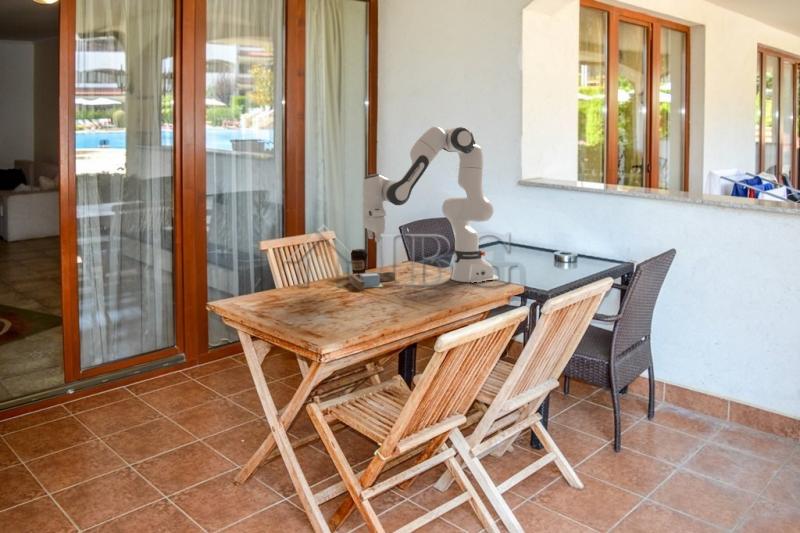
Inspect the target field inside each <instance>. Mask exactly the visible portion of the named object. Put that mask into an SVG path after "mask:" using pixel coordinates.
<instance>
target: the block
mask: <svg viewBox="0 0 800 533" xmlns="http://www.w3.org/2000/svg"><path fill="white" fill-rule="evenodd" d="M373 273H374V274H360V279H361V280H363V281H364V287H372V286H380V284H381V281H380V275H379V274H377V273H375V272H373ZM372 288H373V287H372Z"/></svg>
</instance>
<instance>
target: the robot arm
mask: <svg viewBox="0 0 800 533" xmlns="http://www.w3.org/2000/svg"><path fill="white" fill-rule="evenodd" d="M442 150H444V151H446V152H449V153H457V154H458V157H459V165H458V166H459V167H458V176H457V183H458V185H459V187H460V188H461V189H463V190H464V191H465V194H466V197H465V196H464V197H462V196H452V197H448V198H446V199H445V200H444V202H443V203H442V206H441V207H442V208H441V210H442V213H443V215H444V217H445V218H446V219H447V220H448V221H449V223H450V224H451V226H452V229H453V231H454V232H453V233H454V246H455V247H454V250H453V260H454V262H453V270H452V274H451V277H450V279H451V280H452V281H456V282H462V283H470V282H471V284H472V283H473V284H475V283H474V282H477V283H483V282H482V281H485V282H487V281H486V280H493V281H498V280H499V276H498V275H497V274H494V273H495V272H494V268H493V265H492V264H490V263H489V262H488V261H487V260H485V259H484V258H483V257H485V256H486V251H484V250H482V251H481V250H479V242H480V239H479V238H480V236H479V233H478V231H476V230H475V229H474V228H473V227H472V226H471V224H470V222H473V223H482V222H488V221H489V220H491V218H492V217H493V214H494V206H493V204H492V202H491V201H490V199H488V197H487V196H486V195H485V192H484V189H483V169H484V156H483V149H482V147H481V146H480V145H478V144H476V140H475V137H474V134H473V132H472V130H471V129H469V128H467V127H464V126H457V127H452V128H450V129H446V130H444V129H443V128H441V127H439V126H437V125H436V126H432V127H430V128H429V129H427V130H426V131H425V132H424V133H422V135H421V136H420V137H419V138H418V139H417V140H416V141H415V143H414V145H413V146H412V147H411V148H410V151H409V156H410V159H411V165H410V167H409V168H408V170H407V171H406V172H405V174H404V175H403V177H402V178H401V179H400V180H398V181H396V180H391V179H389V178H387V177H384V176H382V175H381V173H373V174H367V175H366V176H365V177H364V178H363V183H362V184H363V185H362V196H363V203H362V207H363V227H364V228H365V229H367V235H368V240H369V239H370V240H373V239H374V242H375V243H380V241H381V239H380V238H381V234H384V233H385V230H386V226H385V225H386V220H385V219H386V218H385V217H386V215H387V213H386V212H387V211H386V210H385V208H384V202H388V203H391V204H392V205H395V206H403V205H405V204H406V203H407V202H408V200H409V199H410V196H411V194H412V192H413V189H414V187H415V186H416V185H417V183H418V181H419V180H420V178H421V177H422V176H423V175H424V173H425V172H426V171H427V168H428V167H429V165H431V162H433V160H434V159H435V158H436V157H437V155H438V154H439V153H440V151H442ZM373 233H374V234H373ZM374 235H375V237H374ZM482 256H483V257H482Z"/></svg>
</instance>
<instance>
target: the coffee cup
mask: <svg viewBox="0 0 800 533" xmlns="http://www.w3.org/2000/svg"><path fill="white" fill-rule="evenodd" d="M368 256H369V252H368V251H367V248H366V249H364V248H356V249H352V250H351V252H350V261H351V271H352V274H360V273H366V270H367V266H368V265H367V264H368Z"/></svg>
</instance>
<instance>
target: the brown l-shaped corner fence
mask: <svg viewBox="0 0 800 533" xmlns="http://www.w3.org/2000/svg"><path fill="white" fill-rule="evenodd" d="M374 273H377V274H379V275H380V282H387V281H388V282H391V281H395V280H396V276H395V275H396V272H395V271H394V270H393V271H389V270H388V271H377V272H375V271H374V272H365V273H360V274H374ZM360 274H353V273H352V274H349V276H348V277H349V282H348V283H349V284H350V285H351V284H352V285H351V286H352V287H354V288H355V289H357V290H359V291H360V292H361V291H365V289H368V288H369V289H370V288H383V287H384V285H382V284H381V283H380V286H372V287H364V281H363V280H361V279H360Z"/></svg>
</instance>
